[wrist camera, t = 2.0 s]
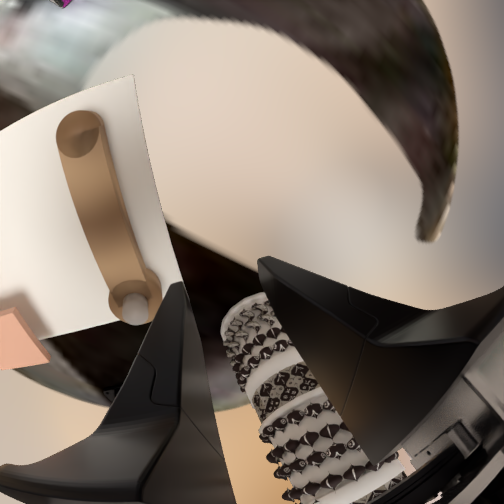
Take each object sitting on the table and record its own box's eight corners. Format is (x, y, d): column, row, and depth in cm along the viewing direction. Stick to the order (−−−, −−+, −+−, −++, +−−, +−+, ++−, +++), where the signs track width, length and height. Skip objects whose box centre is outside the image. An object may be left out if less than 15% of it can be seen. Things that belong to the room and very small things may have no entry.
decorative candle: (197, 336, 27) (293, 580, 6) (261, 272, 26) (434, 529, 5) (256, 361, 32) (351, 542, 11) (312, 310, 31) (446, 490, 10)
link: (167, 301, 23) (171, 328, 20) (122, 314, 22) (121, 341, 19) (110, 101, 14) (100, 98, 11) (53, 123, 13) (34, 126, 10)
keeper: (56, 333, 21) (49, 362, 18) (2, 345, 19) (-6, 371, 16) (26, 285, 18) (12, 312, 15) (-27, 304, 16) (-40, 328, 13)
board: (188, 298, 24) (189, 300, 24) (5, 345, 19) (4, 347, 19) (133, 75, 14) (133, 74, 14) (-73, 188, 9) (-75, 190, 9)
